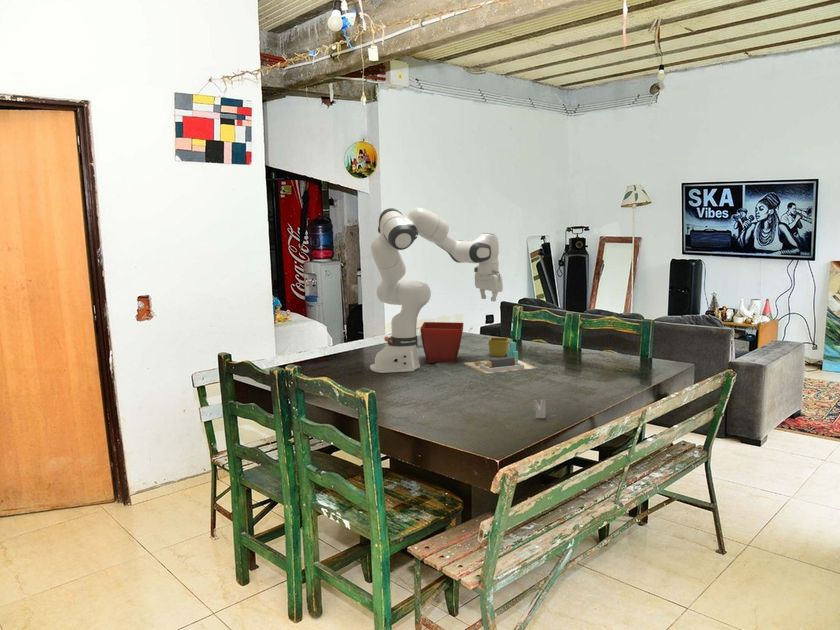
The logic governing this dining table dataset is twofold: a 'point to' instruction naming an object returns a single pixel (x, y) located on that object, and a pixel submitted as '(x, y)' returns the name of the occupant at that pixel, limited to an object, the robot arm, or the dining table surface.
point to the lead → (501, 362)
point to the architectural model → (540, 409)
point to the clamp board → (477, 366)
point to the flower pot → (498, 346)
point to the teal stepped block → (512, 351)
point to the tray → (486, 368)
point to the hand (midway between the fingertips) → (488, 300)
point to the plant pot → (441, 340)
